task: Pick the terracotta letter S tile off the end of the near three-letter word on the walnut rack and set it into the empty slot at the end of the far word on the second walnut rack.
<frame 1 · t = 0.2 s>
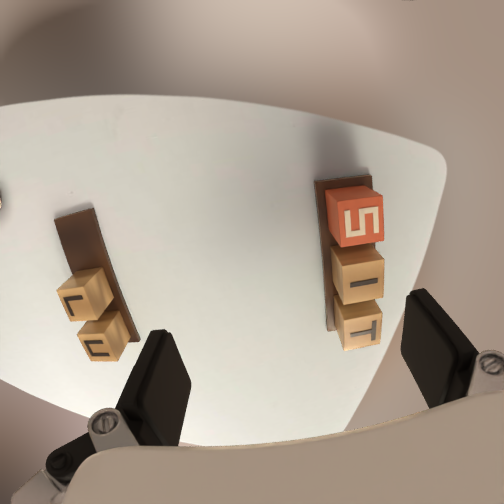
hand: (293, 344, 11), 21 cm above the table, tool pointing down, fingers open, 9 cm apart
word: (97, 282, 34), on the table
tile s: (346, 207, 30), point 1 cm above the table, touching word
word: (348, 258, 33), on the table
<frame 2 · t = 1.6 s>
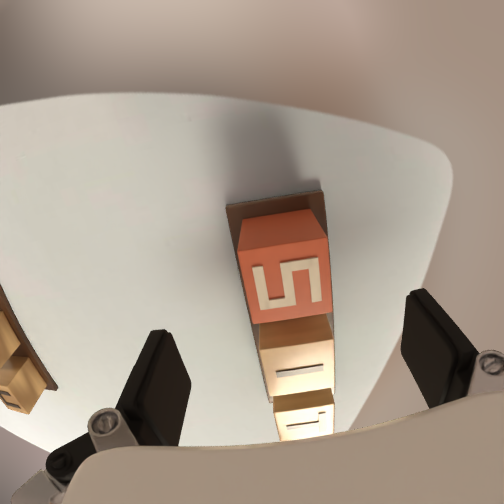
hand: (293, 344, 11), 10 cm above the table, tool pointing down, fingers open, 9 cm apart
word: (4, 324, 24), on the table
tile s: (281, 245, 19), point 1 cm above the table, touching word
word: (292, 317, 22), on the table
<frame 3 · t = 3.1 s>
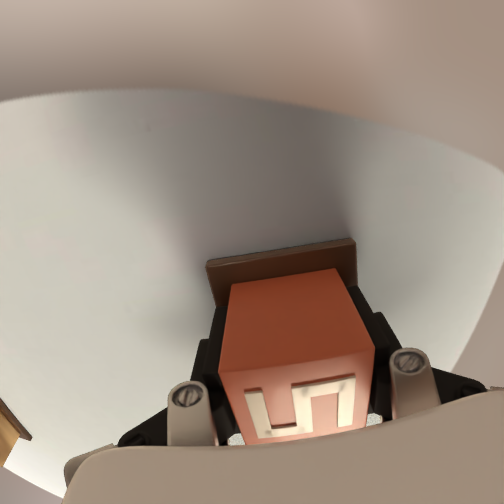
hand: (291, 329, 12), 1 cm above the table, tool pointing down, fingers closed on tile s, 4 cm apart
tile s: (289, 319, 13), point 1 cm above the table, touching gripper, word
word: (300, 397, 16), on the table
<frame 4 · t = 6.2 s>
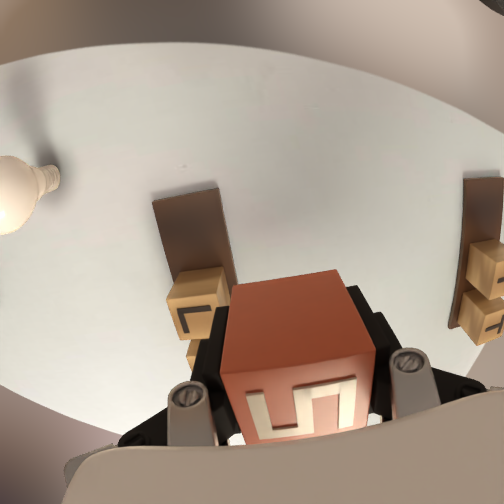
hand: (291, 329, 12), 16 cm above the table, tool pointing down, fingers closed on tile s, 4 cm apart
lightbulb: (55, 176, 25), on the table
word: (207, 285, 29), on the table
tile s: (290, 320, 13), point 15 cm above the table, touching gripper
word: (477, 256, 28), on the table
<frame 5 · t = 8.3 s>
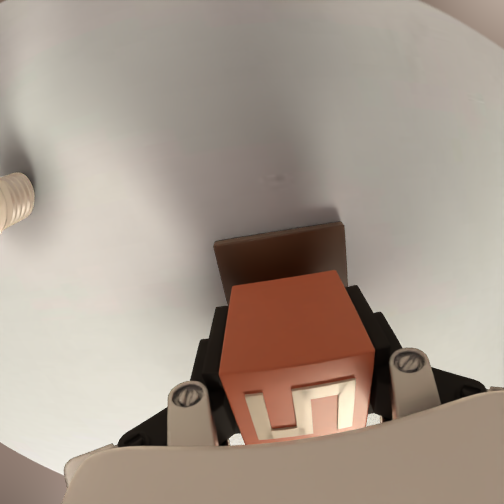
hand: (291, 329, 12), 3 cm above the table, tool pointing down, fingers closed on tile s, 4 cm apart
lightbulb: (27, 192, 14), on the table
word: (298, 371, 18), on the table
tile s: (290, 320, 13), point 3 cm above the table, touching gripper
when the fingers open (1 cm above the table, at t = 9.3 s): tile s stays where it is, resting on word.
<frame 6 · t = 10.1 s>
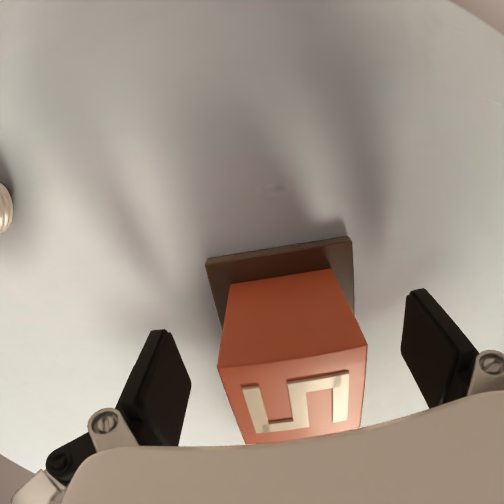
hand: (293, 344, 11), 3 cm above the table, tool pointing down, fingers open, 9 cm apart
lightbulb: (7, 202, 12), on the table
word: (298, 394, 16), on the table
tile s: (287, 318, 13), point 1 cm above the table, touching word
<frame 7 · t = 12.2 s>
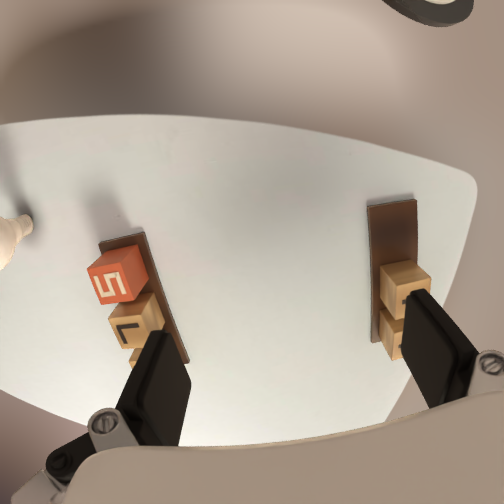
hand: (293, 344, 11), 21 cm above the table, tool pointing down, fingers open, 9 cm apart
lightbulb: (30, 222, 32), on the table
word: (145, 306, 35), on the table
tile s: (127, 264, 33), point 1 cm above the table, touching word
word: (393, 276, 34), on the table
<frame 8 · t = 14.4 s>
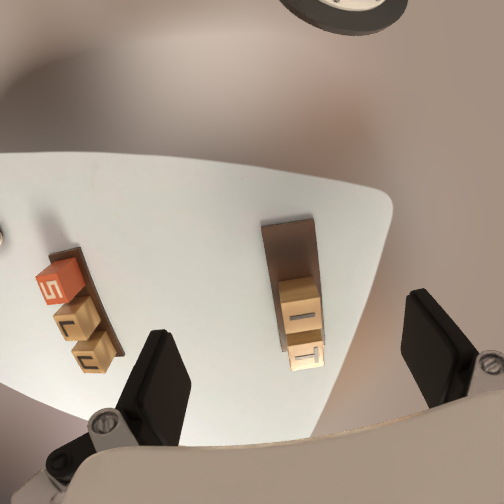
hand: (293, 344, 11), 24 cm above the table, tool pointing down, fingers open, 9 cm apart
lightbulb: (0, 235, 36), on the table
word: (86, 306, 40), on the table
tile s: (69, 272, 37), point 1 cm above the table, touching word
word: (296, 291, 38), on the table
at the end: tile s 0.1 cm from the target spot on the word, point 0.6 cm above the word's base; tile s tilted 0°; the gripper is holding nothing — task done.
